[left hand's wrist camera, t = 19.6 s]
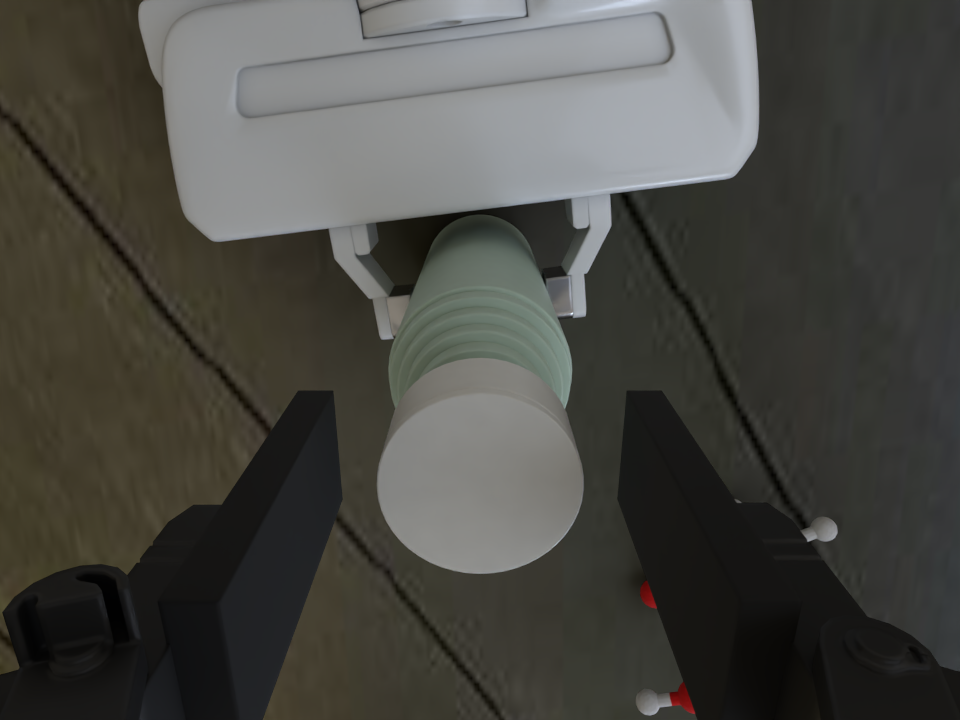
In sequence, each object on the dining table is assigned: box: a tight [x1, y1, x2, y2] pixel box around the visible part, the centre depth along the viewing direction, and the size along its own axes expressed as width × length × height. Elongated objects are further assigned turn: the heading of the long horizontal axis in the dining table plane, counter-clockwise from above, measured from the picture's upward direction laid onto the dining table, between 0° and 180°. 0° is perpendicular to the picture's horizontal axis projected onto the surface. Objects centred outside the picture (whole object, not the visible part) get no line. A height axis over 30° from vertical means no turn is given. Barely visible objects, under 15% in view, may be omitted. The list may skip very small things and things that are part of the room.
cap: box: [377, 358, 584, 574], centre depth 14 cm, size 4×4×2 cm
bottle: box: [388, 215, 572, 409], centre depth 22 cm, size 5×5×19 cm
